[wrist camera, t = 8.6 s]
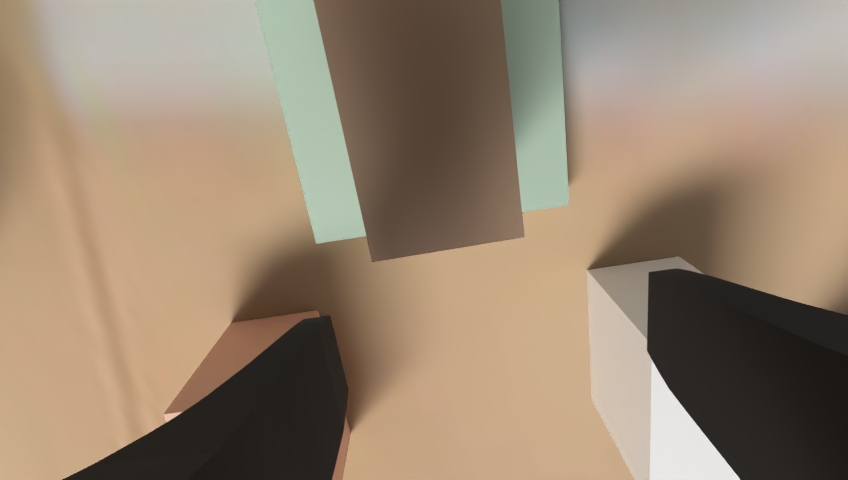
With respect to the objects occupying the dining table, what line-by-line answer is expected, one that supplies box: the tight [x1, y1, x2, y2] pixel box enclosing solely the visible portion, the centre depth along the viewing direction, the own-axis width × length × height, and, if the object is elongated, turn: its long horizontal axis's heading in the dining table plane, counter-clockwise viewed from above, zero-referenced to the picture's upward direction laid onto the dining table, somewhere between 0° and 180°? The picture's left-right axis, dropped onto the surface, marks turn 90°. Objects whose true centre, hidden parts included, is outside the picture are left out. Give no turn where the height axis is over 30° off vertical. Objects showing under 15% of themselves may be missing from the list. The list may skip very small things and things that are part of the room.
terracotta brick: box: [163, 310, 351, 480], centre depth 19 cm, size 4×7×6 cm, turn 9°
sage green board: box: [255, 0, 569, 244], centre depth 17 cm, size 10×10×1 cm
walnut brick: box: [313, 0, 524, 262], centre depth 14 cm, size 4×7×6 cm, turn 9°
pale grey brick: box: [587, 256, 740, 480], centre depth 19 cm, size 4×7×6 cm, turn 9°
